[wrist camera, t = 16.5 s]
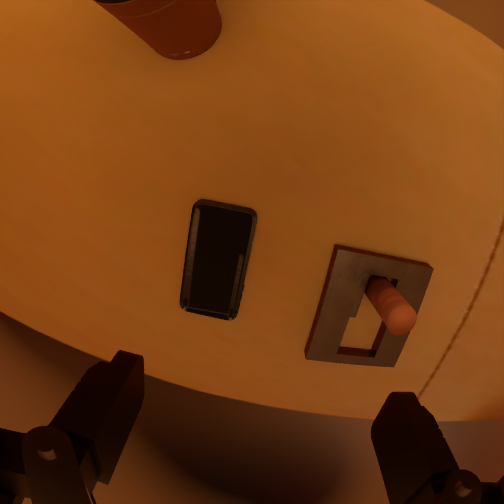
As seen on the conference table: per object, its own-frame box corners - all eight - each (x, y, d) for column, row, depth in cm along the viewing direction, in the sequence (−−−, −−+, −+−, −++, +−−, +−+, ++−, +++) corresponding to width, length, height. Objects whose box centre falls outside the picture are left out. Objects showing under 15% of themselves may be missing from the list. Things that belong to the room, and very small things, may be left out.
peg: (367, 270, 39) (394, 304, 30) (390, 274, 39) (421, 308, 30) (359, 294, 40) (383, 333, 31) (382, 298, 40) (409, 336, 31)
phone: (178, 309, 41) (193, 198, 37) (180, 305, 42) (195, 197, 38) (236, 322, 41) (259, 211, 37) (237, 318, 43) (259, 209, 38)
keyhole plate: (334, 244, 38) (338, 249, 37) (427, 263, 39) (433, 268, 37) (304, 351, 43) (305, 359, 41) (389, 359, 43) (393, 367, 42)
